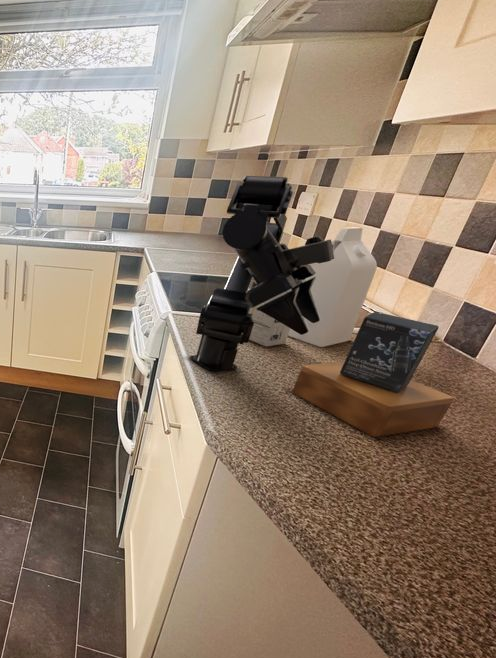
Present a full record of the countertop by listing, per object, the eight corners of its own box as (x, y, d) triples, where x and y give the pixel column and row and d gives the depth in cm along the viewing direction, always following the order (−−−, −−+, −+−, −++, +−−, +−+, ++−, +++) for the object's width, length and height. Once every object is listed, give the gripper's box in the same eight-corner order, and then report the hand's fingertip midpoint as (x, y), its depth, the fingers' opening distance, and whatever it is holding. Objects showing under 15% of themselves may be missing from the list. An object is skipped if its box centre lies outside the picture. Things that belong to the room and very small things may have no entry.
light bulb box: (285, 344, 98) (302, 300, 93) (266, 347, 95) (281, 302, 91) (244, 328, 107) (258, 287, 102) (225, 331, 104) (238, 289, 100)
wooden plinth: (291, 392, 76) (302, 365, 74) (349, 385, 79) (361, 359, 77) (373, 437, 64) (389, 406, 61) (438, 427, 67) (455, 397, 65)
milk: (300, 324, 111) (338, 223, 100) (349, 340, 102) (397, 230, 91) (272, 330, 106) (309, 224, 95) (321, 347, 97) (368, 232, 86)
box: (338, 374, 71) (364, 315, 66) (350, 367, 74) (375, 310, 69) (398, 394, 65) (431, 331, 61) (408, 385, 68) (440, 325, 64)
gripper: (295, 221, 60) (362, 314, 57) (320, 216, 72) (376, 293, 69) (221, 265, 68) (276, 348, 65) (255, 254, 80) (303, 324, 77)
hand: (311, 327), depth 69 cm, fingers open, 9 cm apart
